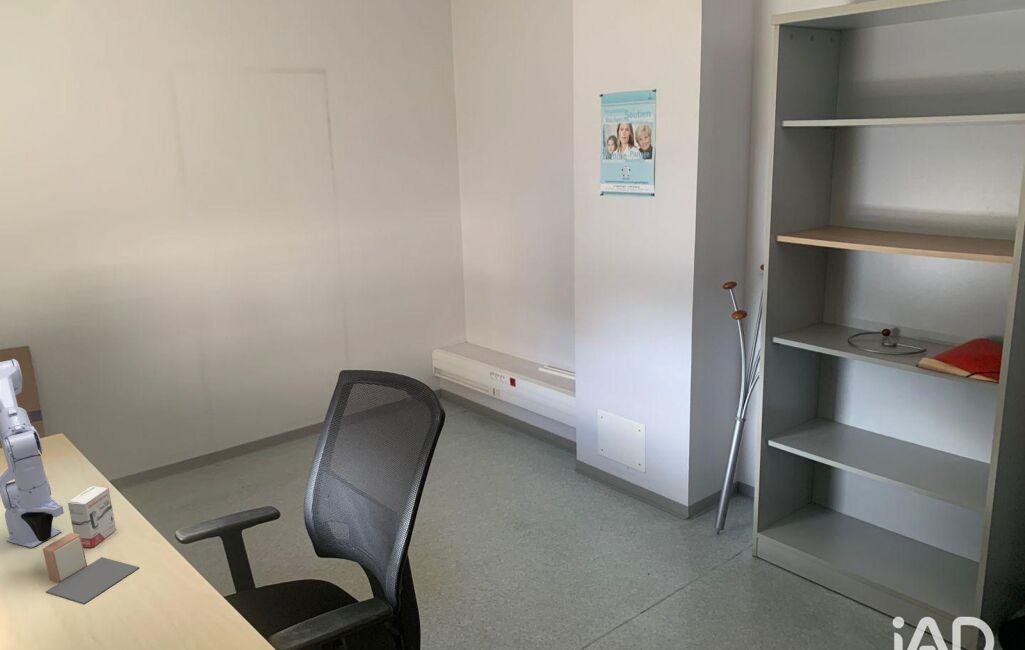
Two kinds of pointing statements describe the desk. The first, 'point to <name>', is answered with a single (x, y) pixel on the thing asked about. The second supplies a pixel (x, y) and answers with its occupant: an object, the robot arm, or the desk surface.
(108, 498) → the ink box
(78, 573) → the rubber mat
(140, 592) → the desk surface
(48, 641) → the desk surface
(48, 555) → the salmon tan block
